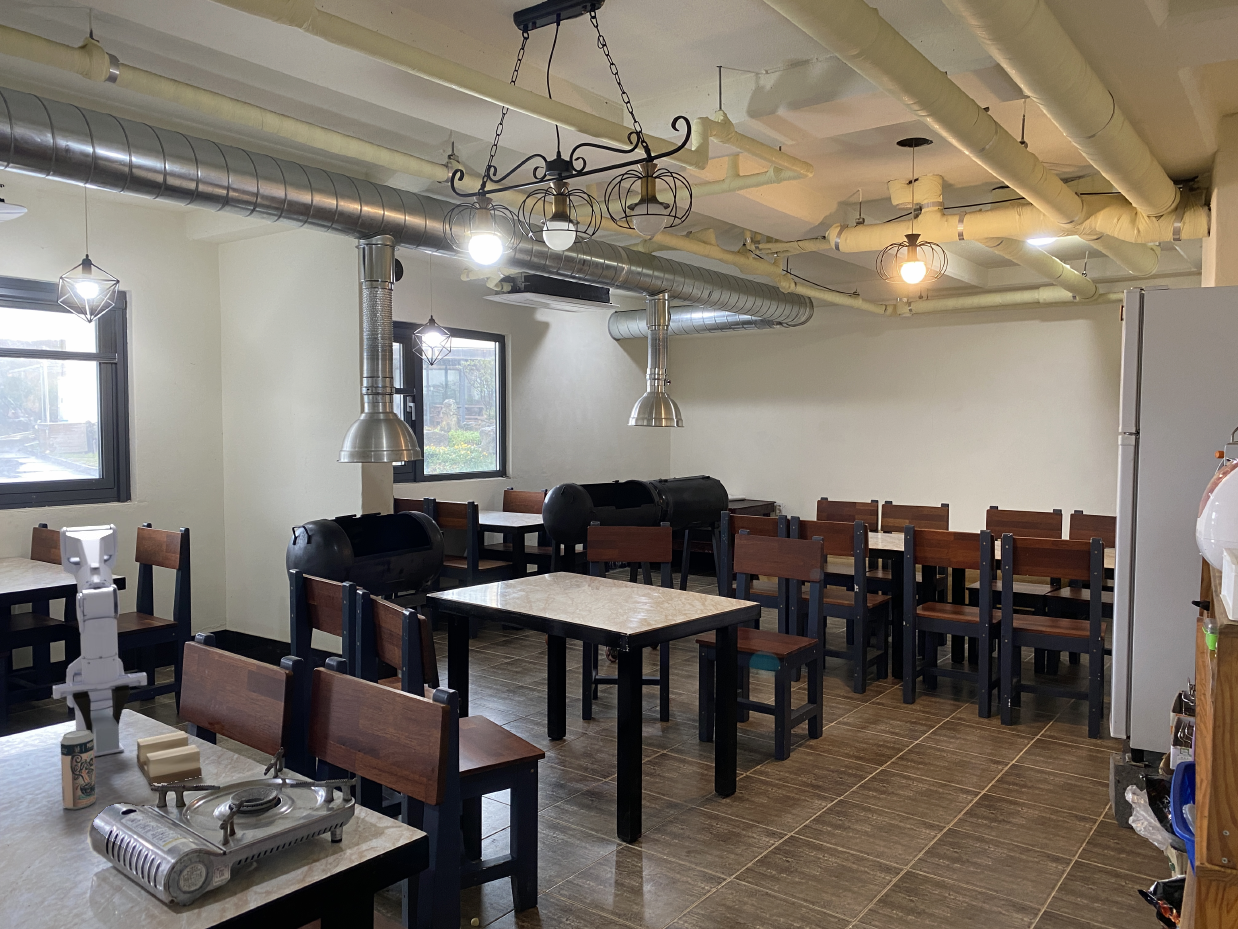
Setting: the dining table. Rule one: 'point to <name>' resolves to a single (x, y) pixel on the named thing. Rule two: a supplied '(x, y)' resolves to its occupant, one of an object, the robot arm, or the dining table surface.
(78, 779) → the tea canister
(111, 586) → the robot arm
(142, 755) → the display stand
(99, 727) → the grey rectangular block
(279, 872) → the dining table surface
